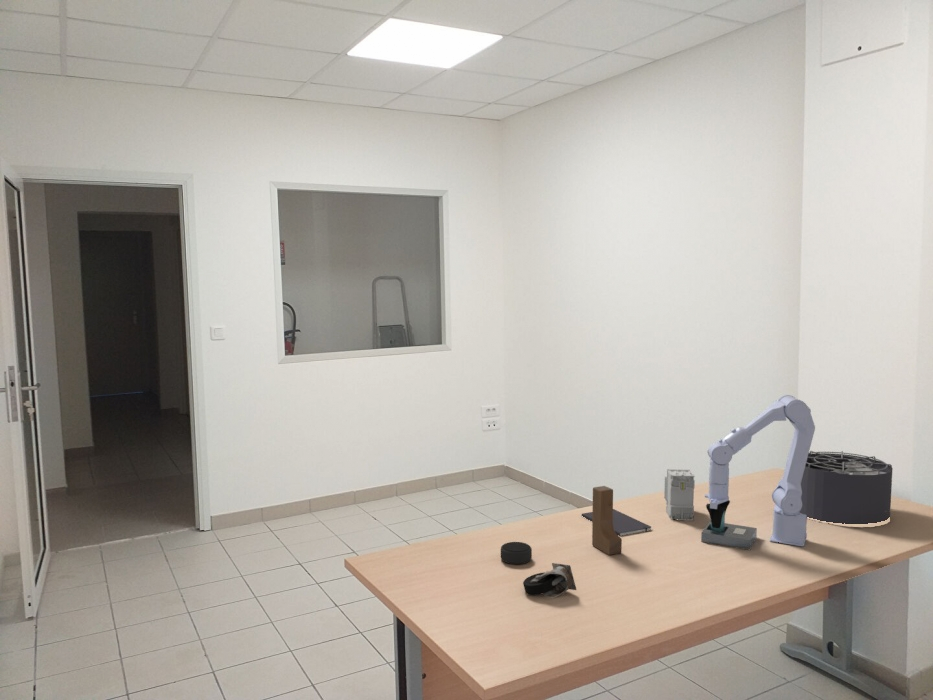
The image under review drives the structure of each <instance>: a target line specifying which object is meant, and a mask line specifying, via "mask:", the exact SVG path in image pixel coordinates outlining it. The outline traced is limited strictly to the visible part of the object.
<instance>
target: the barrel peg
mask: <svg viewBox="0 0 933 700" xmlns="http://www.w3.org/2000/svg"><path fill="white" fill-rule="evenodd" d="M725 517H726V513H725V511H724V513H723V516H722V520H721V525H720V528H713V527H712V523H711V530H713V531H719V532H724V525H725V523H726V521H725V520H726V518H725Z"/></svg>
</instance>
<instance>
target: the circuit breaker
mask: <svg viewBox="0 0 933 700" xmlns="http://www.w3.org/2000/svg"><path fill="white" fill-rule="evenodd" d="M695 477H696V476H695V475H694V473H693V472H692V470H691V469H670V468H669V469H666V476H664V497H663V498H664V499H665V502H666V503H665V504H666V511H665V512H666V514H667V516H668V519H676V520H675V521H694V516H695V506H694V499H695V498H694V497H695V496H694V493H695V491H694V490H695V481H696V480H695ZM677 519H678V520H677Z"/></svg>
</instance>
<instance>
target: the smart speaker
mask: <svg viewBox="0 0 933 700" xmlns="http://www.w3.org/2000/svg"><path fill="white" fill-rule="evenodd" d="M532 553H533V552H532V546H531V545H529V544H528V543H525V542H523V541H509V542H506V543H503V544H502V545H501V547H500V559H501V560H502V561H503V562H504V563H506V564H511V565H523V564H526V563H528V562H530V561H531V560H532V557H533V555H532Z"/></svg>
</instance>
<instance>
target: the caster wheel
mask: <svg viewBox="0 0 933 700" xmlns="http://www.w3.org/2000/svg"><path fill="white" fill-rule="evenodd" d="M551 566H552V569H551V570H547V571H545V572H540V573H536V574H535V573H534V574H532V575H530V576H528V577H526V578H524V580H523V583H522V584H523V587H524V588H523V589H524V591H525V594H528V595H530V596H538V595H543V596H545V597H547V598H556V597H558V596H561V595H562V594H564V593H565V592H566V591H569V590H572V591H577V587H576V582H575V579H574V576H573V572H572V571H573V570H572V568H571V567H572V566H571V565H569V564H563V563H554V562H552V563H551Z"/></svg>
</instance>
